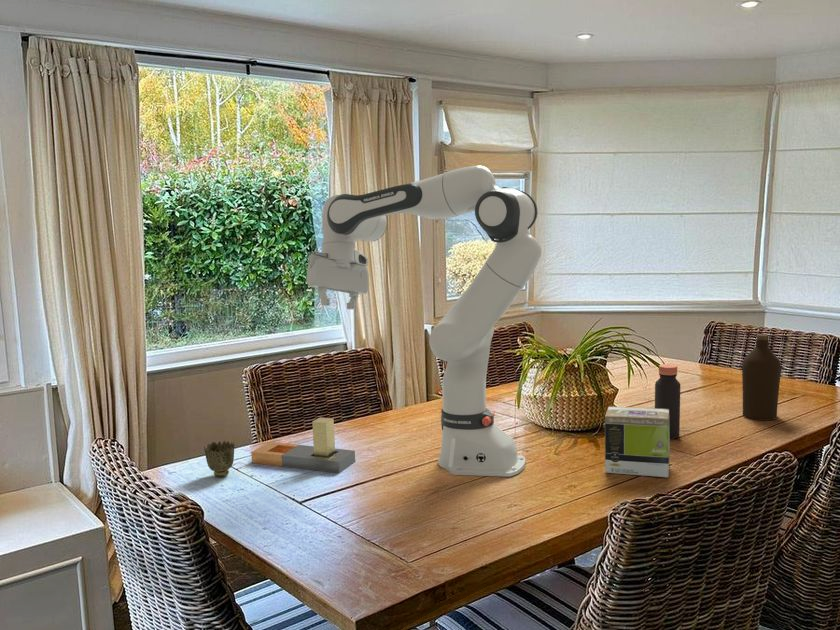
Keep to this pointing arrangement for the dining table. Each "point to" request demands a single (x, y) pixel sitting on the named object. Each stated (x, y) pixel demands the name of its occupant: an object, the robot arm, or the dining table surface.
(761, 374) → the olive oil
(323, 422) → the yellow rectangular block
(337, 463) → the rail
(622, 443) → the tea box
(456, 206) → the robot arm
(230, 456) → the cup
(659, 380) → the bottle
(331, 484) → the dining table surface
